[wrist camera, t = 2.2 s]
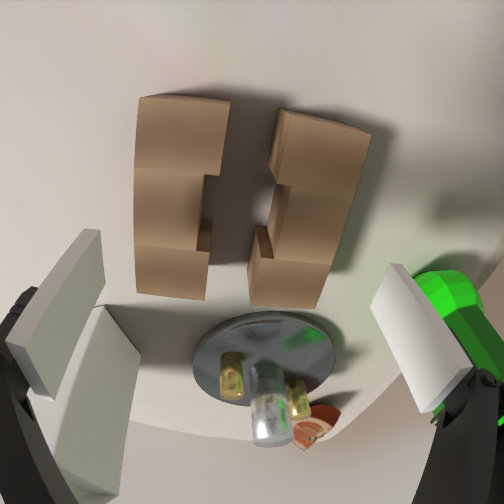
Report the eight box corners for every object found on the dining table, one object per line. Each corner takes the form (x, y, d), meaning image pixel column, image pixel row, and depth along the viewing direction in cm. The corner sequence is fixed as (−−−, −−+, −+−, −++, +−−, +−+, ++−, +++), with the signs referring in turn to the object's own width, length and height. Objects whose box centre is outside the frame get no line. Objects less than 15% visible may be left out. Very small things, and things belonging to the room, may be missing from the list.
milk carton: (142, 354, 28) (116, 538, 12) (91, 362, 28) (53, 519, 12) (104, 303, 24) (42, 515, 8) (52, 316, 25) (-12, 488, 9)
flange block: (157, 94, 16) (139, 97, 13) (345, 123, 18) (371, 135, 14) (148, 259, 22) (136, 292, 19) (303, 275, 24) (314, 309, 20)
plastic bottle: (386, 252, 23) (537, 542, 2) (470, 249, 24) (609, 449, 3) (359, 336, 29) (437, 567, 7) (438, 324, 29) (527, 506, 8)
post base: (197, 304, 25) (190, 398, 17) (351, 314, 27) (385, 394, 19) (192, 392, 32) (189, 462, 24) (308, 395, 34) (322, 459, 26)
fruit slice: (316, 423, 39) (322, 451, 35) (275, 422, 38) (279, 452, 33) (345, 394, 35) (355, 425, 31) (300, 392, 34) (307, 427, 29)
